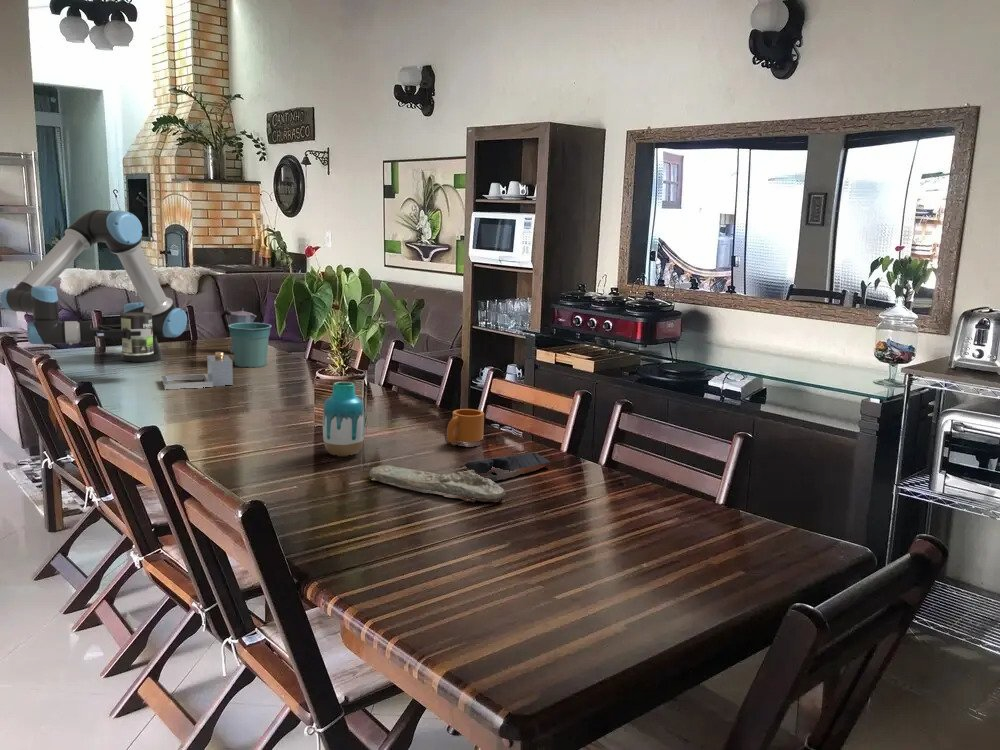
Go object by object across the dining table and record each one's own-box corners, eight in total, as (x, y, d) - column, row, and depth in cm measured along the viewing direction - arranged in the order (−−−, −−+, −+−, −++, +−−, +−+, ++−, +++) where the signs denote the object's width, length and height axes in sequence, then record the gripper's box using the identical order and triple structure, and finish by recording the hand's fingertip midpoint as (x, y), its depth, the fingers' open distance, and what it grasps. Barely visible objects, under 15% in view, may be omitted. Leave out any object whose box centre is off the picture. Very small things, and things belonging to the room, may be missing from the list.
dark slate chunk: (558, 472, 206) (559, 455, 206) (487, 486, 194) (487, 467, 193) (522, 457, 219) (523, 440, 218) (453, 468, 206) (453, 450, 205)
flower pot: (271, 369, 319) (271, 328, 316) (227, 369, 315) (226, 328, 312) (272, 361, 335) (272, 322, 332) (230, 361, 331) (230, 322, 328)
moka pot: (253, 355, 346) (252, 309, 342) (217, 354, 346) (216, 307, 342) (260, 351, 355) (259, 306, 351) (225, 350, 355) (224, 304, 351)
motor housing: (161, 381, 289) (160, 350, 287) (227, 378, 299) (226, 348, 297) (165, 390, 276) (163, 358, 274) (233, 386, 286) (232, 355, 283)
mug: (435, 443, 227) (436, 411, 225) (471, 438, 234) (472, 407, 232) (452, 450, 220) (453, 418, 218) (489, 445, 227) (490, 414, 225)
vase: (327, 462, 205) (327, 388, 201) (319, 451, 214) (319, 380, 211) (368, 459, 209) (369, 386, 205) (358, 448, 219) (359, 378, 215)
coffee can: (158, 351, 292) (157, 312, 289) (145, 356, 282) (144, 316, 279) (130, 350, 292) (128, 311, 289) (116, 355, 282) (114, 314, 279)
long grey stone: (382, 477, 201) (360, 491, 192) (381, 457, 199) (358, 469, 191) (512, 494, 187) (495, 510, 178) (512, 472, 185) (494, 487, 177)
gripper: (80, 338, 288) (148, 336, 298) (79, 348, 268) (152, 346, 278) (79, 317, 287) (147, 315, 296) (78, 326, 267) (151, 324, 277)
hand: (150, 330), depth 287 cm, fingers closed on coffee can, 10 cm apart
